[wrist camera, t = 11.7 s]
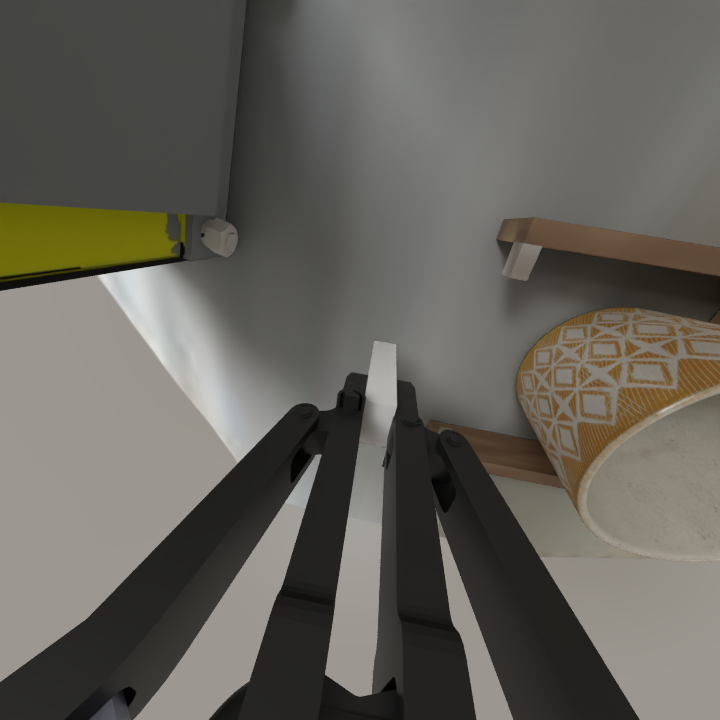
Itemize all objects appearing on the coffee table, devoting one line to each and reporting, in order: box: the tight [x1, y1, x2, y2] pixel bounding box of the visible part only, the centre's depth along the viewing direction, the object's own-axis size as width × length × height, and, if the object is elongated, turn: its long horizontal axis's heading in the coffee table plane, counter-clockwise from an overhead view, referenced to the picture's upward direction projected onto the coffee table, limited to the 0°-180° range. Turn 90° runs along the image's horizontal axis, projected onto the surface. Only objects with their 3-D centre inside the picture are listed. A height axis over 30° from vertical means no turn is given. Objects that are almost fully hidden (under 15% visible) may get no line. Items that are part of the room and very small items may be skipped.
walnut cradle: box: [428, 218, 720, 489], centre depth 19 cm, size 18×17×4 cm
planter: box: [516, 307, 720, 562], centre depth 16 cm, size 13×13×10 cm
